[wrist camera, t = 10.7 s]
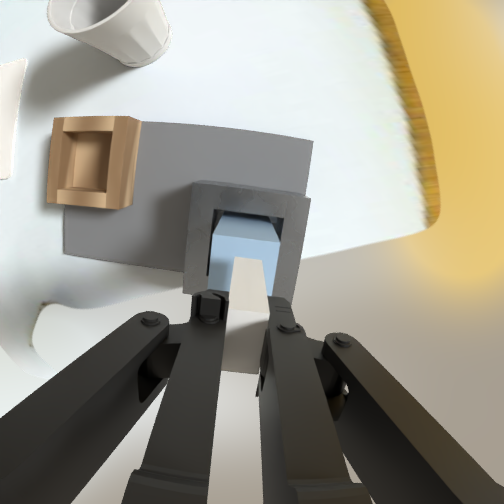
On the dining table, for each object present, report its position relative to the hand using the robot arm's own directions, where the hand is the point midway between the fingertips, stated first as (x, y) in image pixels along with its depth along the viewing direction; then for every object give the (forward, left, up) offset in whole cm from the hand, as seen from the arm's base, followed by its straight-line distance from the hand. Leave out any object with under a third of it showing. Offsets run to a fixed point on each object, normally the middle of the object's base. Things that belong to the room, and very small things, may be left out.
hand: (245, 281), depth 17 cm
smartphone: (-32, +11, -14) cm, 36 cm away
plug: (0, 0, -12) cm, 12 cm away
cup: (-13, +19, -13) cm, 26 cm away
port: (0, 0, -12) cm, 12 cm away
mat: (-7, +3, -13) cm, 15 cm away
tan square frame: (-15, +6, -12) cm, 20 cm away
